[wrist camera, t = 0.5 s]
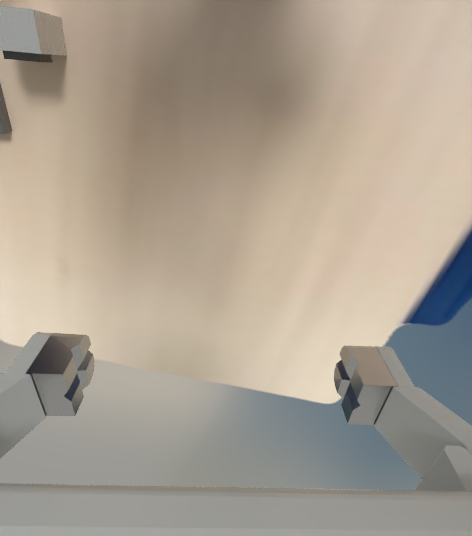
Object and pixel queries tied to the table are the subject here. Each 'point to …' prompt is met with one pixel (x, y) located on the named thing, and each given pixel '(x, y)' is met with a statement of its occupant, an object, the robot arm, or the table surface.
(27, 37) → the left finger
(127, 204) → the table surface
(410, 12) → the table surface
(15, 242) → the table surface
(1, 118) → the rail
